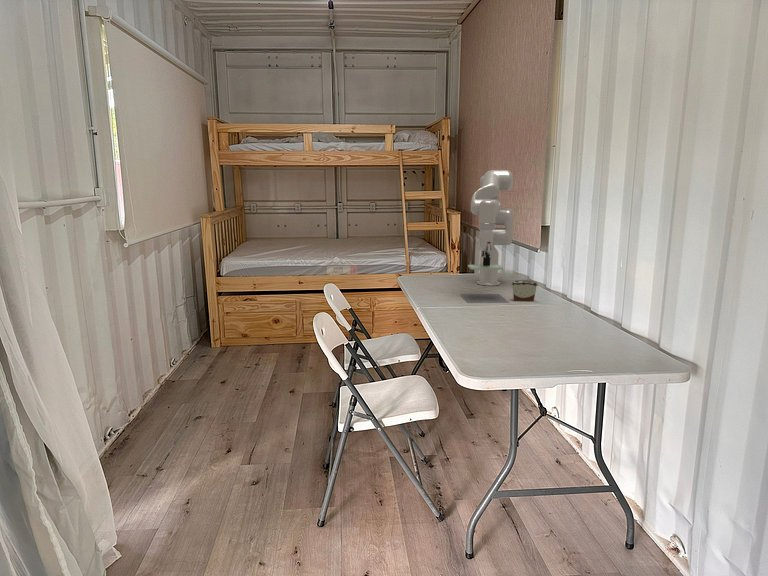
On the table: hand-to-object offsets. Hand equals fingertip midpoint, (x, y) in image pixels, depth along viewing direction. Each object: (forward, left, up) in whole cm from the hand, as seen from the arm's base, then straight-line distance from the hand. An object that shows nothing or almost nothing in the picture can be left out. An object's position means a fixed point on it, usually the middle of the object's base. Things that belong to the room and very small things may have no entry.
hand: (485, 264), depth 255 cm
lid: (0, 0, -2) cm, 2 cm away
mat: (0, 0, -17) cm, 17 cm away
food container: (+4, +18, -17) cm, 25 cm away
